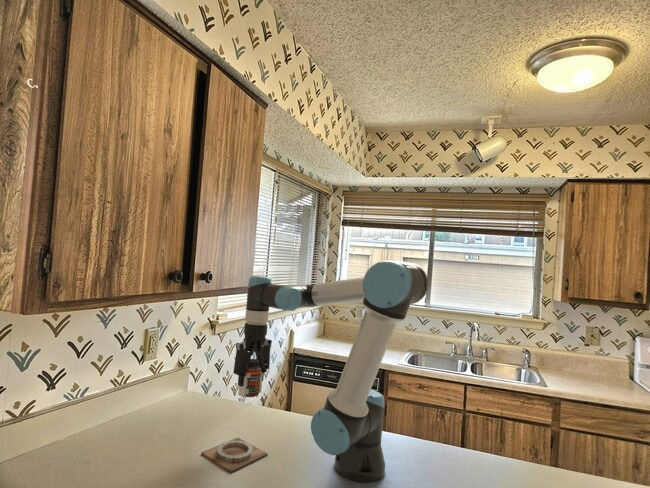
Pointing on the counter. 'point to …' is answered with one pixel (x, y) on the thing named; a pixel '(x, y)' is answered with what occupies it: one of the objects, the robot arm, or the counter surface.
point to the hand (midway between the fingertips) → (249, 393)
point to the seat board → (234, 451)
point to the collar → (239, 457)
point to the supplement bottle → (253, 378)
